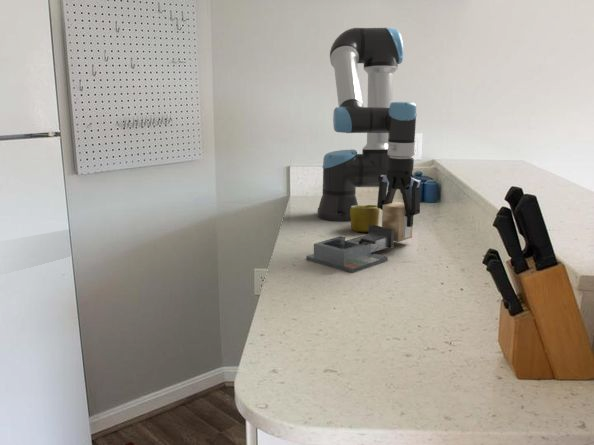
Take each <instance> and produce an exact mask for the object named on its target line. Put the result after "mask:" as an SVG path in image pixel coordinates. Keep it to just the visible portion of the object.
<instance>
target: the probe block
mask: <svg viewBox="0 0 594 445" xmlns="http://www.w3.org/2000/svg"><path fill="white" fill-rule="evenodd" d="M405 215H406V211H405V206H404V202H400V201H394V202H392V203H389V204H385V205H383V211H382V216H381V227H385V228H390V229H394V242H396V243H400V242H403V241H406V240H410V239H412V238H413V226H414V225H413V226H411V230H410V237H407V238H403V222H404V216H405Z"/></svg>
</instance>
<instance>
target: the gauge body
mask: <svg viewBox="0 0 594 445" xmlns="http://www.w3.org/2000/svg"><path fill="white" fill-rule="evenodd" d="M345 241H346V237H345V236H337V237H333V238H329V239H326V240H323V241H319V242H315V243H313V253H312V254H308V255H306V258H305V260H306V261H310V262H314V263H317V264H320V265H323V266H328V267H331V268H334V269H337V270H340V271H344V272H347V273H351V274H353V273H357V272H358V271H362V270H365V269H368V268H370V267H373V265H374V266H376V264H377V265H379V264H382V263H384V262H388V258H389V257H388V256H385V255H382V254H377V253H375V252H372V253H371V243H367V242H366V243H363V244H360V245H356V246H353V247H350V248H346V249H344V242H345ZM378 263H379V264H378Z"/></svg>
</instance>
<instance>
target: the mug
mask: <svg viewBox="0 0 594 445" xmlns="http://www.w3.org/2000/svg"><path fill="white" fill-rule="evenodd" d="M380 210H381V209H380V208H377V204H376V205H375V204H360V205H359V204H358V206H351V208H350V217H351V220H350V226H351V229H352V231H353V232H355V233H369V225H376V226H380V225H379V223H380V222H379V221H380V220H379V219H380Z"/></svg>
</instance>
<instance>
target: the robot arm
mask: <svg viewBox="0 0 594 445" xmlns="http://www.w3.org/2000/svg"><path fill="white" fill-rule="evenodd" d="M330 47H331V48H330V50H329V62H330V65H331V67H332V68H333V69H334V70H333V71H334V78H335V87H336V94H337V103H338V106H337V107H335V108H334V110H333V115H332V116H333V118H332V120H333V121H332V122H333V130H334V132H336V133H343V134H345V133H346V134H362V133H363V134H366V145H364V146H363V148H362V150H361V151H362V152H361V153H358V152H357V150H356V149H341V150H339V149H338V150H334V151H330V152H327V153H325V155H324V156H323V161H322V163H323V164H322V195H321V199H320V202H319V204H318V205H319V206H318V207H317V212H316V215H317V217H318V218H319V219H323V220H326V221H335V222H336V221H338V222H339V221H341V222H342V221H344V222H345V221H351V217H350V208H351V206H358V205H359V203H358V199H357V196H356V193H357V192H356V189H357V188H378V192H377V193H378V195H377V204H376V205H377V208H379V209H380V210H381V211H382V212H383V205H385V204H389V203H393V201H394V199H395V195H396V192H397V191H398V190H399V191H400V193H401V196H402V201H403V203H404V206H405V211H406V215H405V216H404V222H403V238H407V237H410V230H411V226H414V217H415V216H417V215H419V214H420V213H421V212H420V211H421V186H422V180H421V179H416V178H414V175H413V171H414V166H415V165H414V163H415V160H414V156H415V140H416V139H415V138H416V126H417V125H416V123H417V120H416V119H417V116H418V113H417V105H416V103H415V102H413V101H393V100H394V99H393V90H394V73H395V72H396V71H397V70H398V67H399V66H398V65H401V64H402V62H403V60H404V43H403V38H402V34H401V33H400V31H399V29H396V28H391V27H389V28H388V27H353V28H349V29H346V30H344V31H343V32H342V33H340V34H339V35H338V36H337V37H336V38H335V40H334V42H333V43H332V45H331V46H330ZM358 64H363V70H364V71H365V72H366V73H367V107H365V106H364V99H363V94H362V88H361V79H360V74H359V69H358Z"/></svg>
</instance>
